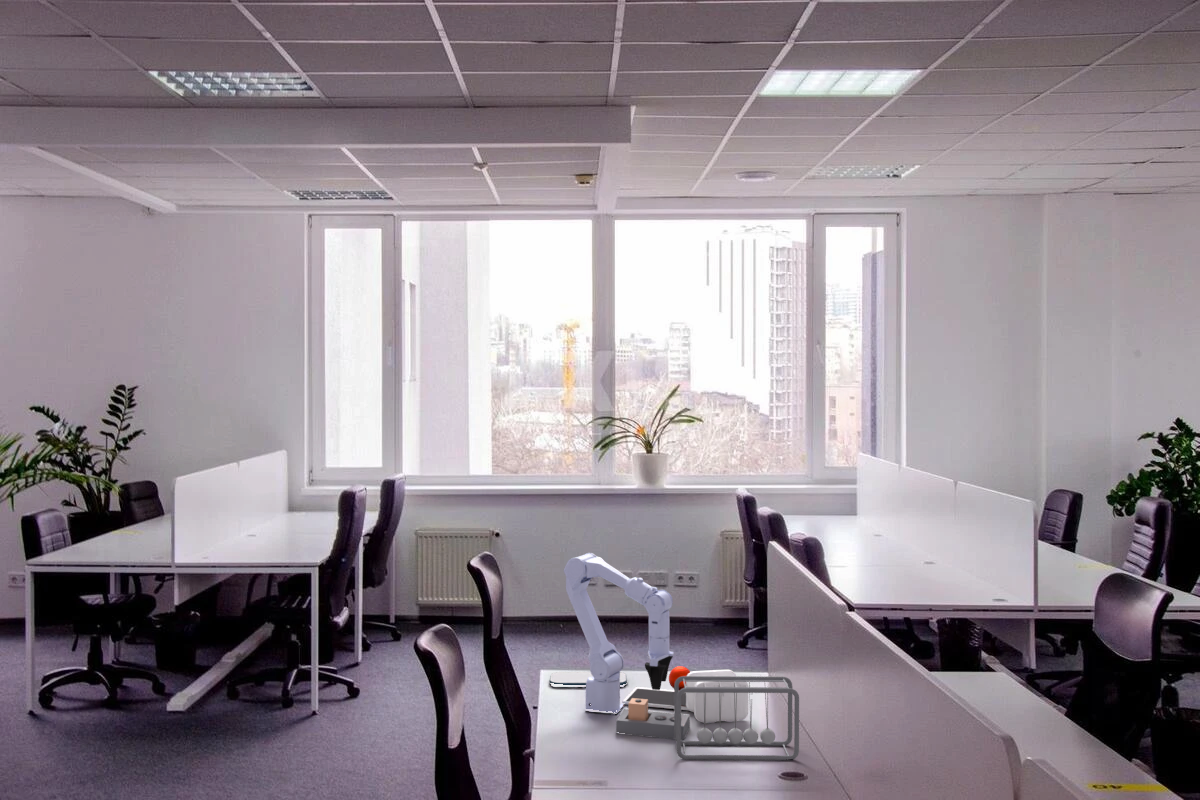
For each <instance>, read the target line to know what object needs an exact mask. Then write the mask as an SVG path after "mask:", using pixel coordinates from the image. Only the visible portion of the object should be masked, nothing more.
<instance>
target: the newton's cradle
mask: <svg viewBox="0 0 1200 800" xmlns="http://www.w3.org/2000/svg"><path fill="white" fill-rule="evenodd" d="M681 681H683V682H684V687H685V688H683V689H681V690H680V691H679V683H680V682H681ZM685 682H719V683H720V682H734V687H720V686H721V685H719V687H706V686H705V687H686V684H685ZM735 682H747V683H748V687H735V685H736V684H735ZM760 682H761V683H764V685H765V686H764V687H763V686H760V687H758V686H755V687H754V686H753V685H752V683H760ZM767 683H784V685H785V686H786V687H783V686H782V687H780V686H779V687H777V686H776V687H775V686H774V687H773V686H772V687H771V686H770V687H768V685H767ZM704 684H705V683H704ZM673 690H674V709H673V710H674V711H673V713H674V738H675V739H674V741H675V743H676V745H675V747H676V754H677V756H678V757H679V758H680V759H682V760H683V761H789V760H788V759H793V760H795V759H797V757H798V756H799V753H800V694H799V693H798V691H797V690H796V689H794V688H793V682H792V680H791V679H790V678H788V677H786V676H751V675H750V676H742V675H741V676H737V675H736V676H682V677H679V678H678V679H677V680H676V681H675V684H674V688H673ZM683 693H705V696H704V723H703V727H702V728H699V730H698V732H697V735H696V737H697V740H681V714H682V710H681V696H682V694H683ZM706 693H719V721H718V723H719V727H718V728H715V729H714V731H713V732H712V731H711V730H710V729H709V728H707V727H706V723H705V713H706ZM720 693H734V706H735V693H736V707H737V693H748V694H754V693H755V694H764V699H765V701H764V702H766V707H765V714H766V715H765V716H766V727H765V728H764V729H762V730H761V731H760V734H758V731H757V730H756V729H754V728H752V716H753V715H752V714H753V700H750V709H749V722H750V724H749V726H750V727H749V728H746V729H745V730H744V731H743V732H742V730H741V729H739V728H737V721H736V720H735V722H734V728H731V729H730V730H729V731H728V733H727V731H726V729H724V728H723V727H721V726H722V724H721V723H722V721H721V703H720ZM769 694H787V739H786V740H783V741H781V740H780V741H775V739H776V734H775V731H774V730H773V729H771V728H769ZM793 697H794V712H793ZM793 713H794V718H793ZM793 719H794V723H793ZM793 725H794V732H793ZM793 733H794V735H793ZM759 736H760V740H759ZM793 737H794V738H793ZM793 739H794V741H793ZM727 740H728V741H727ZM743 740H744V741H743ZM792 741H793V742H794V744H793V746H794V751H793V753H792V754H791V755H790V754H789V752H788V749H787V748H786V746H788V745H790V743H791V742H792ZM682 746H683V751H682ZM686 746H689V747H690V746H691V747H692V746H693V747H695V746H697V747H698V746H699V747H700V746H701V747H702V746H703V747H704V746H706V747H707V746H708V747H709V746H710V747H712V746H713V747H715V746H716V747H717V746H718V747H721V746H722V747H724V746H725V747H727V746H728V747H731V746H732V747H733V746H735V747H783V749H784V751H785V753H786V755H765V754H764V755H761V754H760V755H757V754H756V755H752V754H751V755H750V754H748V755H747V754H745V755H741V754H739V755H737V754H735V755H734V754H730V755H729V754H728V755H727V754H710V755H709V754H687V749H686ZM786 759H787V760H786Z"/></svg>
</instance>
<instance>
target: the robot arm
mask: <svg viewBox="0 0 1200 800" xmlns="http://www.w3.org/2000/svg"><path fill="white" fill-rule="evenodd" d="M563 573H564V575H565V591H566V594H567V596H568V599H569V601H570V604H571V606H572V608H573V611H574V613H575V615H576V617H577V620H578V623H579V625H580V628H581V629H582V632H583V634H584V636H585V639H586V642H587V644H588V647H589V651H588V655H587V656H588V657H587V659H588V662H589V672H591V674H592V676H593V677H588V679H587V682H586V688H585V709H593V710H599V711H606V712H608V711H612V712H613V713H614V712H615V713H618V712H619V711H620V712H621V710H622V709H623V708H624V706H625V704H622V703H621V688H620V672H621V671H622V670H623V669H624V666H625V660H624V657H623V655H622V654H621V653H620V652H619V651H618V650H617V648H616V645H614V643H612V642H610V641H609V640H608V639H607V635H606V633H605V631H604V628H603V626H602V624H601V622H600V620H599V617H598V614H597V611H596V609H595V607H594V604H593V602H592V599H591V597H590V596H589V593H588V590H587V589H588V587H589V583H590V582H591V580H592V579H593V578H598V577H599V578H601V579H604V580H606V581H607V582H609V583H611V584H613V585H615V586H617V587H619V588H621V589H623V590H624V595H625V596H627V597H628V598H630V599H631V600H633V601H635V602H636V603H637V604H640V605H641V606H644V608H645V610H646V612H647V614H648V651H647V655H648V658H649V662H645V663H644V668H645V670H646V673H647V675H648V677H649V681H650V686H651V687H650V688H652V689H653V690H660V689H662V688H661V686H662V682H666V681H667V678H668V672H669V668H670V664H671V661H672V659H673V658H674V655H675V653H674V651H671V650H670V609H671V608H672V607H673V604H674V603H673V602H674V600H673V596H672V595H671V593H669V592H668V591H667V590H666V589H659V590H658V587H656V586H652V585H650V584H648V583H647V582H645V581H644V579H643V578H642V577H636V576H635V577H632V578H630V577H628V576H627V575H625V574H624V573H622V572H621V571H620V570H618V569H616V568H615V567H614V566H612V565H611V564H609V563H608V562H606V561H605V560H604V559H603V558H602V557H600V556H597V555H596V554H594V553H593V552H587V553H584V554H582V555H579V556H576V557H572V558H570V559H568V560H567V561H566V564H565V566H564V569H563ZM590 704H591V705H590ZM620 704H621V705H620ZM623 705H624V706H623ZM622 707H623V708H622ZM621 708H622V709H621ZM620 709H621V710H620ZM616 710H617V712H616ZM620 712H619V713H620ZM619 713H618V714H619Z"/></svg>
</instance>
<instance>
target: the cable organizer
mask: <svg viewBox="0 0 1200 800" xmlns="http://www.w3.org/2000/svg"><path fill="white" fill-rule="evenodd" d="M687 676H737V675H736V673H735V672H734V671H733V670H732V669H713V670H710V669H709V670H693V671H690V673H688V675H687ZM704 683H705V684H704ZM735 684H736V685H735V687H749V682H735ZM719 685H721V686H720V687H734V682H720V683H719V682H686V687H705V686H706V687H719ZM704 696H705V693H686V707H687V708H688V709H689V710H688V711H689V712H693V713H694V714H693V716H694V718H695V719H696V720H697V721H698V722H700V723H703V724H704ZM720 703H721V722H727V723H731V722H732V723H733V722H734V723H735V720H736V722H738V721H741V720H745V719H746V718H747V717H748V716H749V693H737V707H736V693H735V706H734V693H720ZM716 722H719V693H706V713H705V724H714V723H716Z"/></svg>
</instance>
